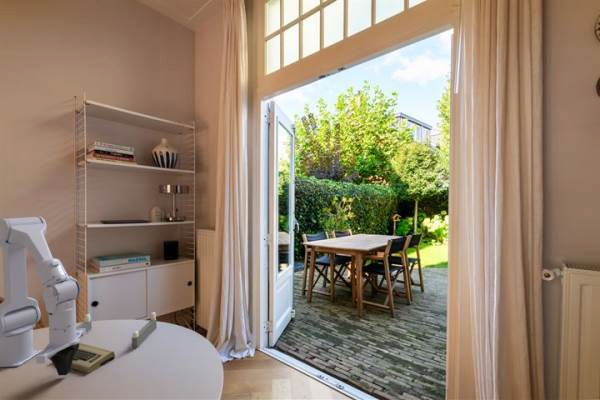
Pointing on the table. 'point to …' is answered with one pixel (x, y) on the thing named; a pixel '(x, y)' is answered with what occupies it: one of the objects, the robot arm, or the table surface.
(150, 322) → the dock
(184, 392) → the table surface
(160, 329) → the table surface
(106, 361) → the computer
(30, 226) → the robot arm
